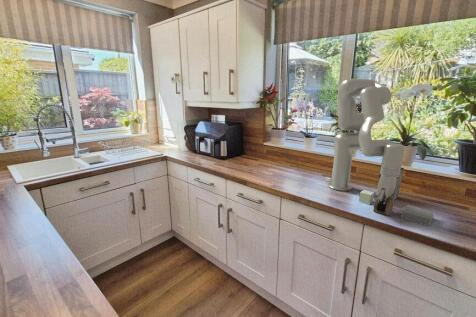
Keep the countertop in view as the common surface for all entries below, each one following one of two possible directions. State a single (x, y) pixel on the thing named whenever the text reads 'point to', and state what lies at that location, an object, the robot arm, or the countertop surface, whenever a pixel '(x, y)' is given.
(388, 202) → the walnut block
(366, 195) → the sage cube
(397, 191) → the coffee box
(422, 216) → the plinth
